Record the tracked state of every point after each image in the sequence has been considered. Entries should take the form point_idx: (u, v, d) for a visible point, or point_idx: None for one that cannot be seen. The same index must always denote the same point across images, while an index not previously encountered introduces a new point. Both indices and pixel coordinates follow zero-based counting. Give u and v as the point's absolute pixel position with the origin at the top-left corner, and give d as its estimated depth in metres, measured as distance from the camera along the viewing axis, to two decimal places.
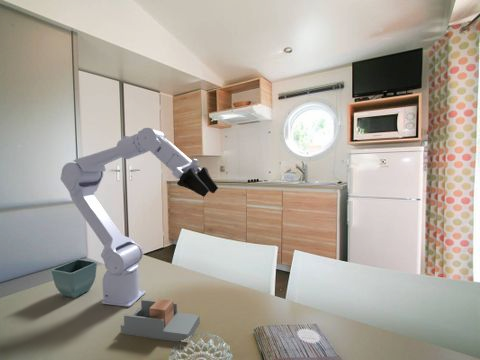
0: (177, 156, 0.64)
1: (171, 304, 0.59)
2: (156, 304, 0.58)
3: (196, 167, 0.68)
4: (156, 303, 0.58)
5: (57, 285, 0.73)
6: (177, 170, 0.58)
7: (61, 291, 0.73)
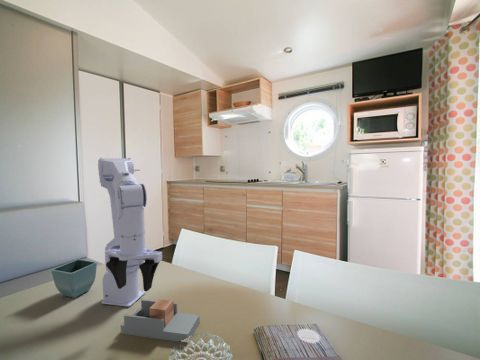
0: (119, 239, 0.57)
1: (171, 304, 0.59)
2: (156, 304, 0.58)
3: None
4: (156, 303, 0.58)
5: (57, 285, 0.73)
6: None
7: (61, 291, 0.73)
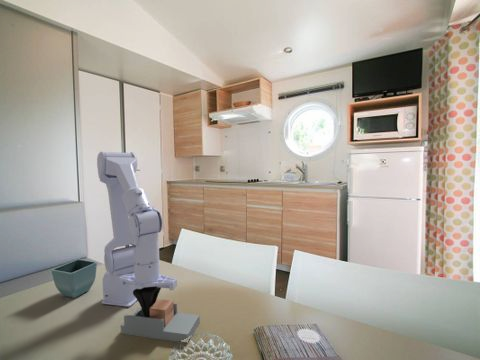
0: (134, 266, 0.57)
1: (171, 304, 0.59)
2: (156, 304, 0.58)
3: None
4: (156, 303, 0.58)
5: (57, 285, 0.73)
6: None
7: (61, 291, 0.73)
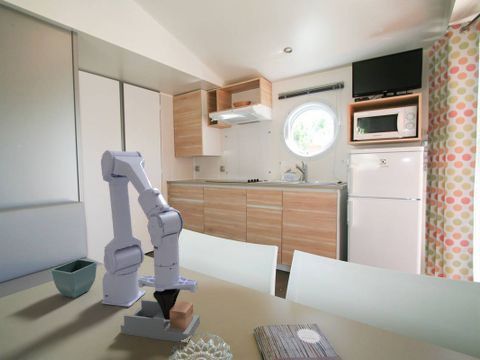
0: (154, 267, 0.56)
1: (191, 306, 0.58)
2: (176, 306, 0.57)
3: None
4: (176, 305, 0.57)
5: (57, 285, 0.73)
6: None
7: (61, 291, 0.73)
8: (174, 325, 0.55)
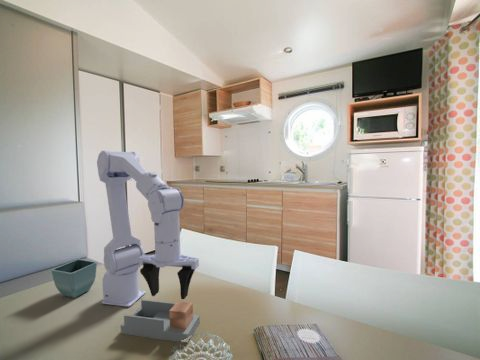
0: (155, 245, 0.55)
1: (191, 306, 0.58)
2: (175, 306, 0.57)
3: None
4: (175, 305, 0.57)
5: (57, 285, 0.73)
6: None
7: (61, 291, 0.73)
8: (174, 325, 0.55)
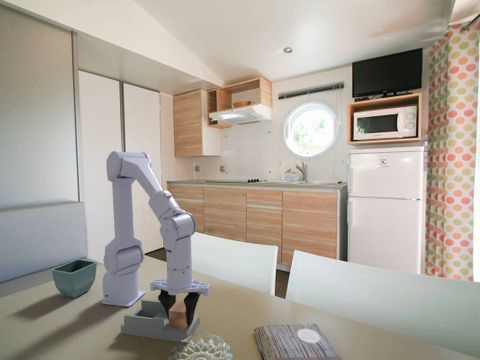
0: (167, 271, 0.55)
1: None
2: (175, 306, 0.57)
3: None
4: (175, 305, 0.57)
5: (57, 285, 0.73)
6: None
7: (61, 291, 0.73)
8: (173, 325, 0.55)
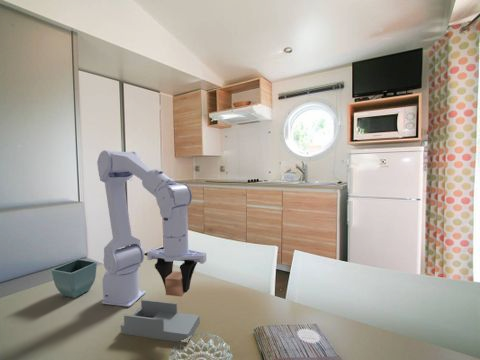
0: (163, 239, 0.56)
1: None
2: (171, 275, 0.58)
3: None
4: (171, 274, 0.58)
5: (57, 285, 0.73)
6: None
7: (61, 291, 0.73)
8: (170, 293, 0.56)
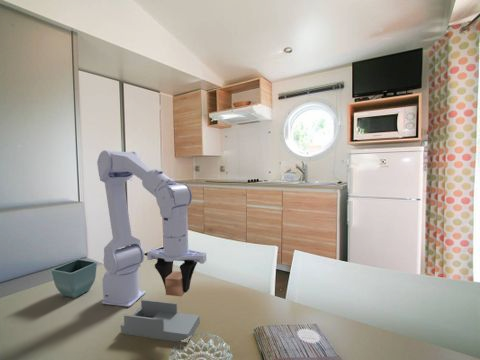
0: (163, 239, 0.56)
1: None
2: (171, 275, 0.58)
3: None
4: (171, 274, 0.58)
5: (57, 285, 0.73)
6: None
7: (61, 291, 0.73)
8: (170, 293, 0.56)
